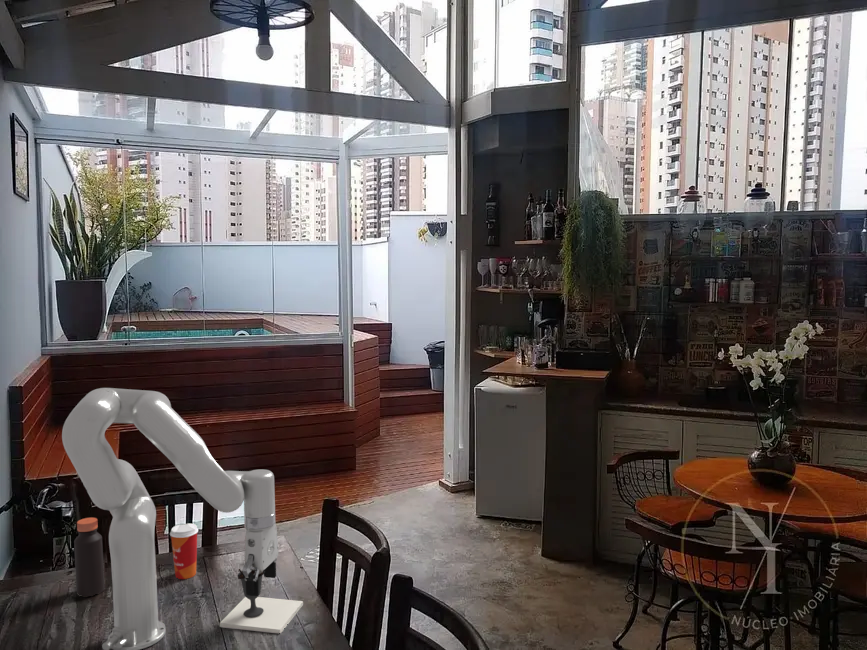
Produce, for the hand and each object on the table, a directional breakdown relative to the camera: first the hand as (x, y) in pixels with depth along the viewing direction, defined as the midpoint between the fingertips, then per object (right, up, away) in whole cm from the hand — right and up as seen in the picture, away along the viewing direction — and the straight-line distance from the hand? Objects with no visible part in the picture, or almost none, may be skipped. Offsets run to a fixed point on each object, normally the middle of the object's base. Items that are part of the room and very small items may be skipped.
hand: (261, 585), depth 168 cm
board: (0, -8, +1) cm, 8 cm away
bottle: (-50, -7, +14) cm, 53 cm away
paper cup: (-28, -6, +24) cm, 37 cm away
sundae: (-2, -7, 0) cm, 7 cm away
